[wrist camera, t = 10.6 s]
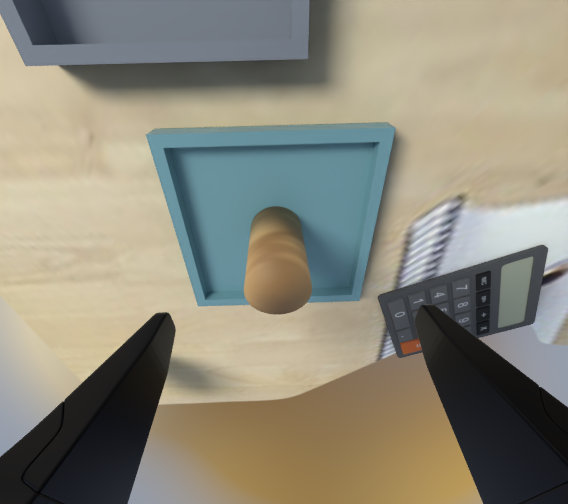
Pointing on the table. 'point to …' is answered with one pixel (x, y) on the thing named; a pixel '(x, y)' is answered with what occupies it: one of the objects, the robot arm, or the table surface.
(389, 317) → the calculator
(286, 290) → the wooden peg
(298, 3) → the shallow gray bin
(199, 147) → the tray
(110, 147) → the table surface
